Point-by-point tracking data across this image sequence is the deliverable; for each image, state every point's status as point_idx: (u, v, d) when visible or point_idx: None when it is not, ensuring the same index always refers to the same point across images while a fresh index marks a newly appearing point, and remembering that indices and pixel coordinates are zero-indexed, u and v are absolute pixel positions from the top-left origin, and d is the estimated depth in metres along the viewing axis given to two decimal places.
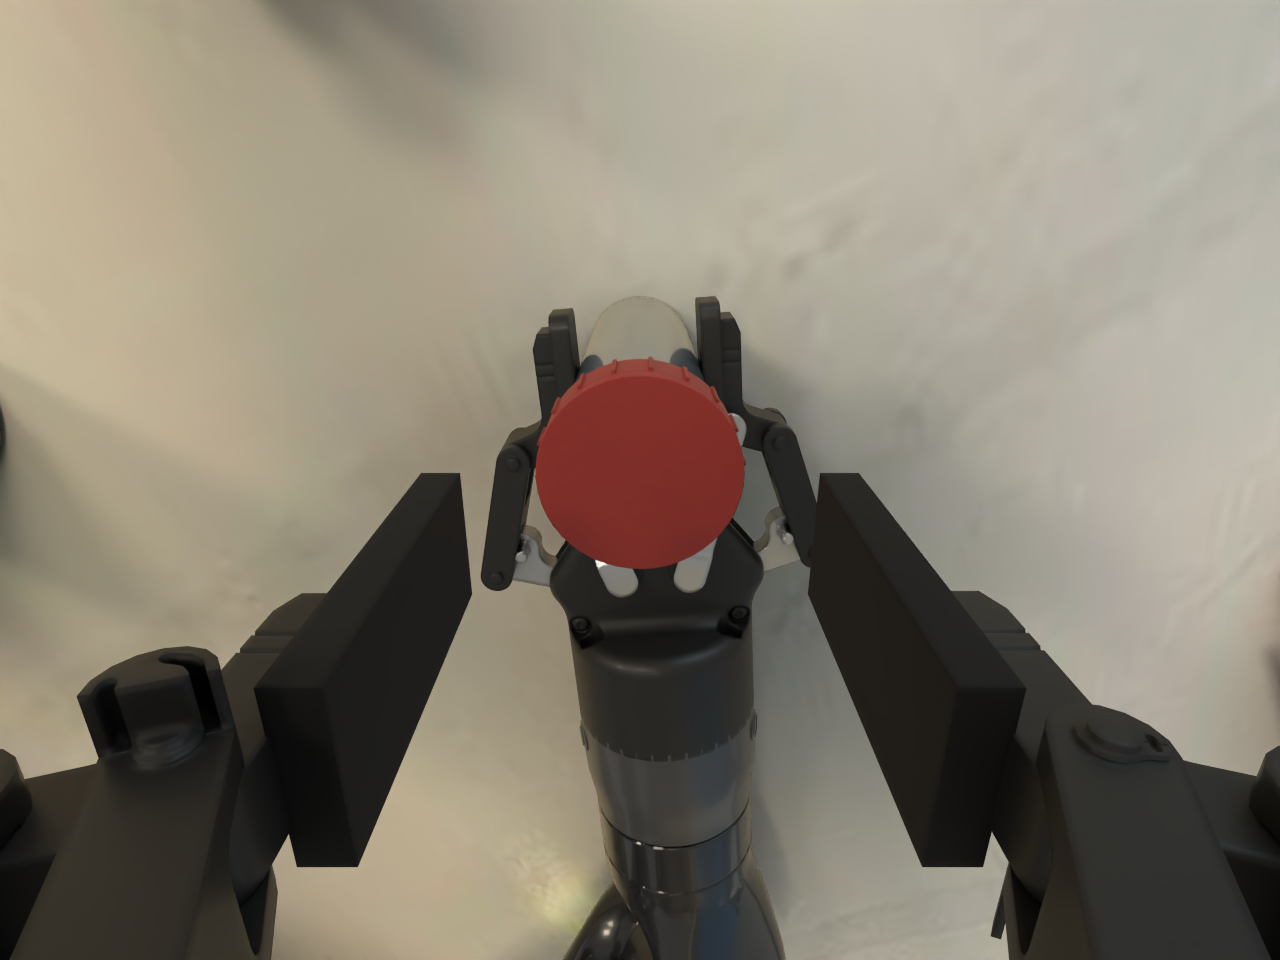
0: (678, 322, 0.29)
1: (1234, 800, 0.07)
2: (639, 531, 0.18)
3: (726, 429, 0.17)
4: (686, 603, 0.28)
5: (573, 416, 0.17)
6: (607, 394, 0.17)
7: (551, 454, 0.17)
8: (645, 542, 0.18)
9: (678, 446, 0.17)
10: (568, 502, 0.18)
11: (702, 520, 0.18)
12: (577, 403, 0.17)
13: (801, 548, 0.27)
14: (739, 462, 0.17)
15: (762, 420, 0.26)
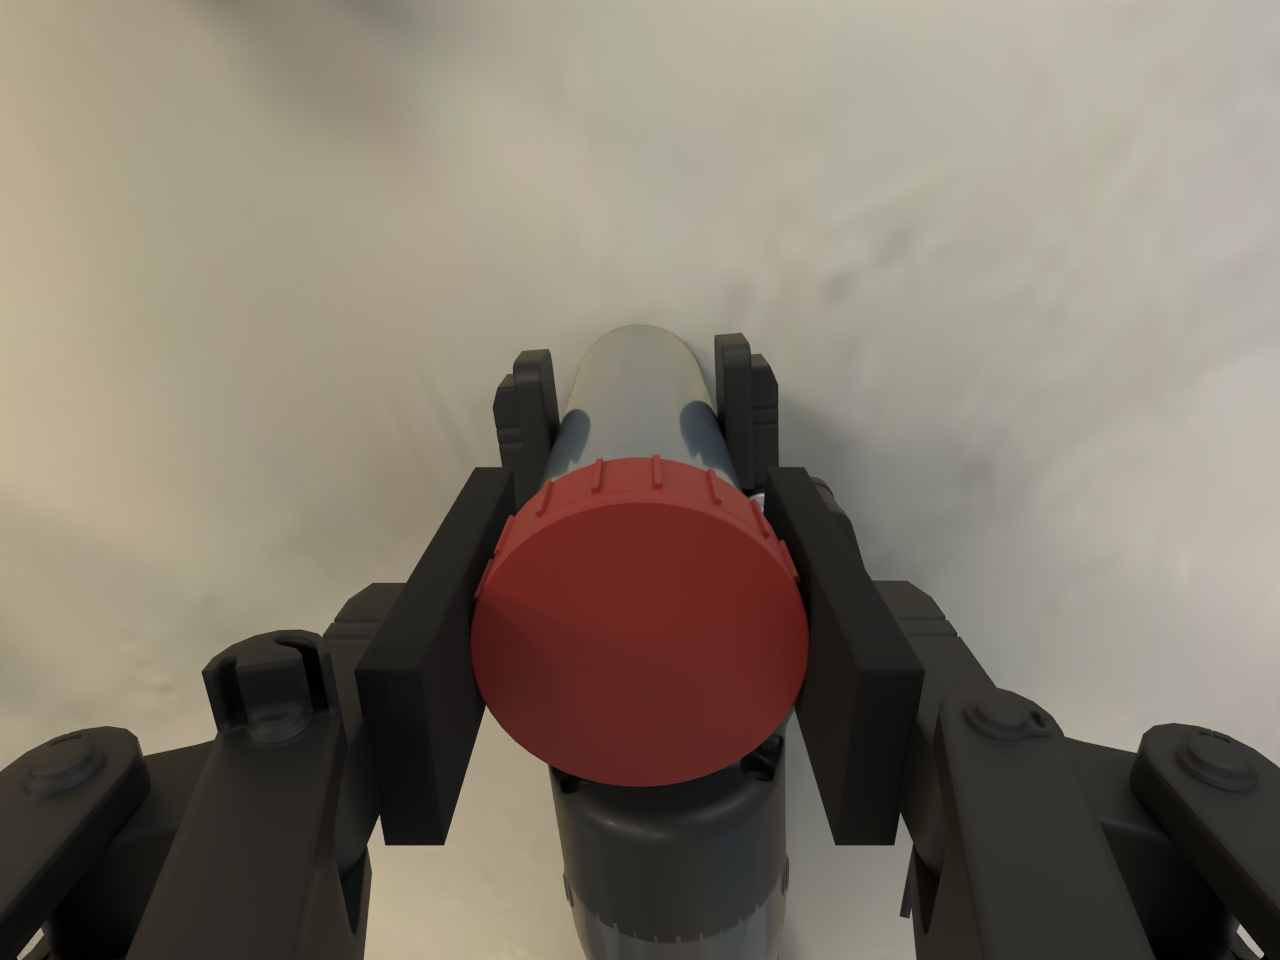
0: (690, 362, 0.22)
1: (1116, 776, 0.07)
2: (638, 734, 0.11)
3: (782, 585, 0.10)
4: None
5: (528, 565, 0.10)
6: (585, 531, 0.10)
7: (494, 622, 0.10)
8: (648, 749, 0.11)
9: (703, 610, 0.10)
10: (524, 692, 0.11)
11: (739, 719, 0.11)
12: (535, 545, 0.10)
13: None
14: (802, 634, 0.10)
15: None
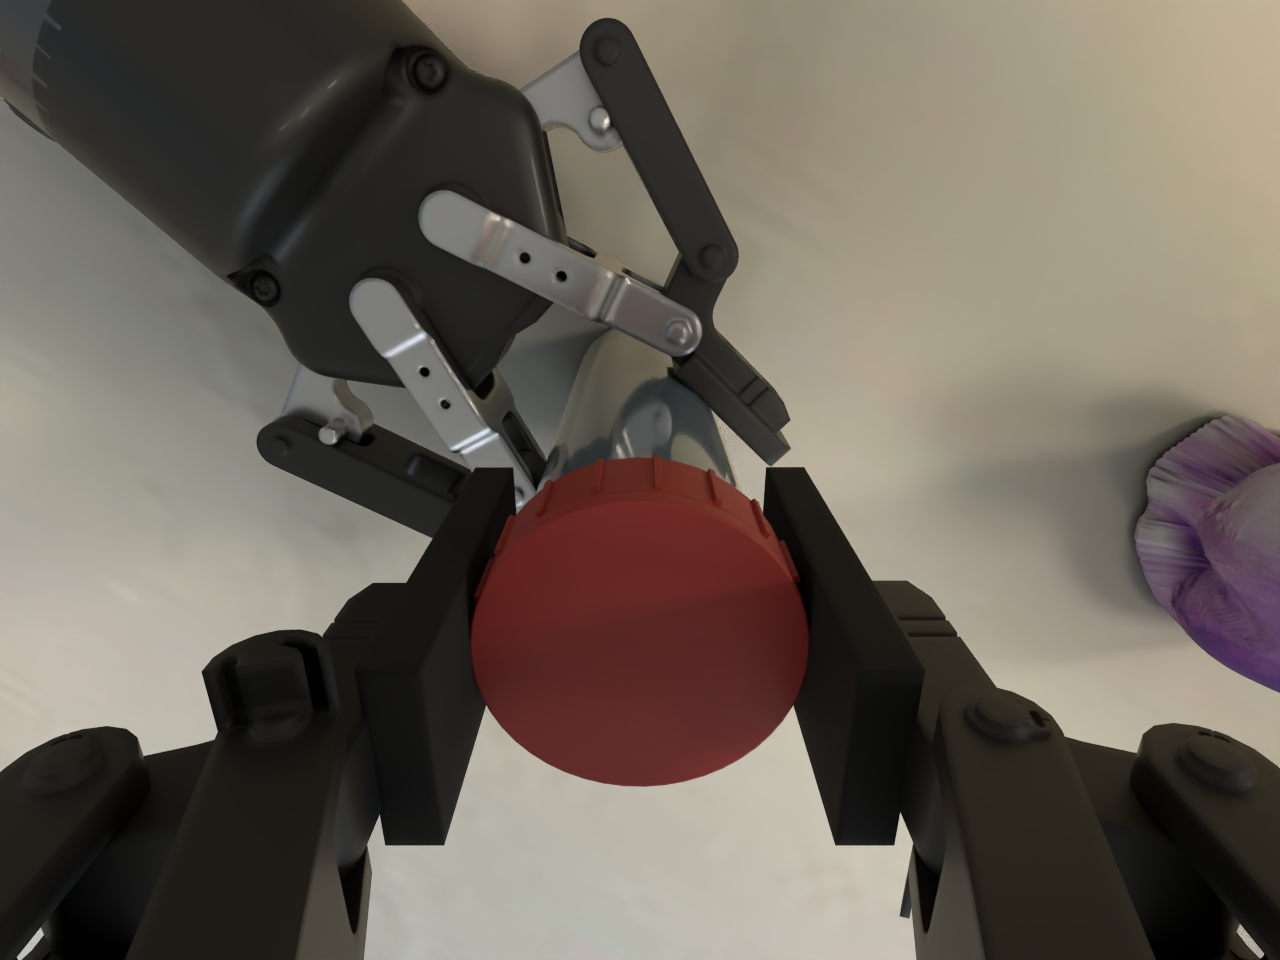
0: None
1: (1115, 776, 0.07)
2: (638, 734, 0.11)
3: (782, 585, 0.10)
4: (337, 246, 0.17)
5: (528, 565, 0.10)
6: (585, 531, 0.10)
7: (494, 622, 0.10)
8: (648, 749, 0.11)
9: (702, 610, 0.10)
10: (524, 693, 0.11)
11: (739, 719, 0.11)
12: (535, 545, 0.10)
13: (301, 438, 0.18)
14: (802, 634, 0.10)
15: None
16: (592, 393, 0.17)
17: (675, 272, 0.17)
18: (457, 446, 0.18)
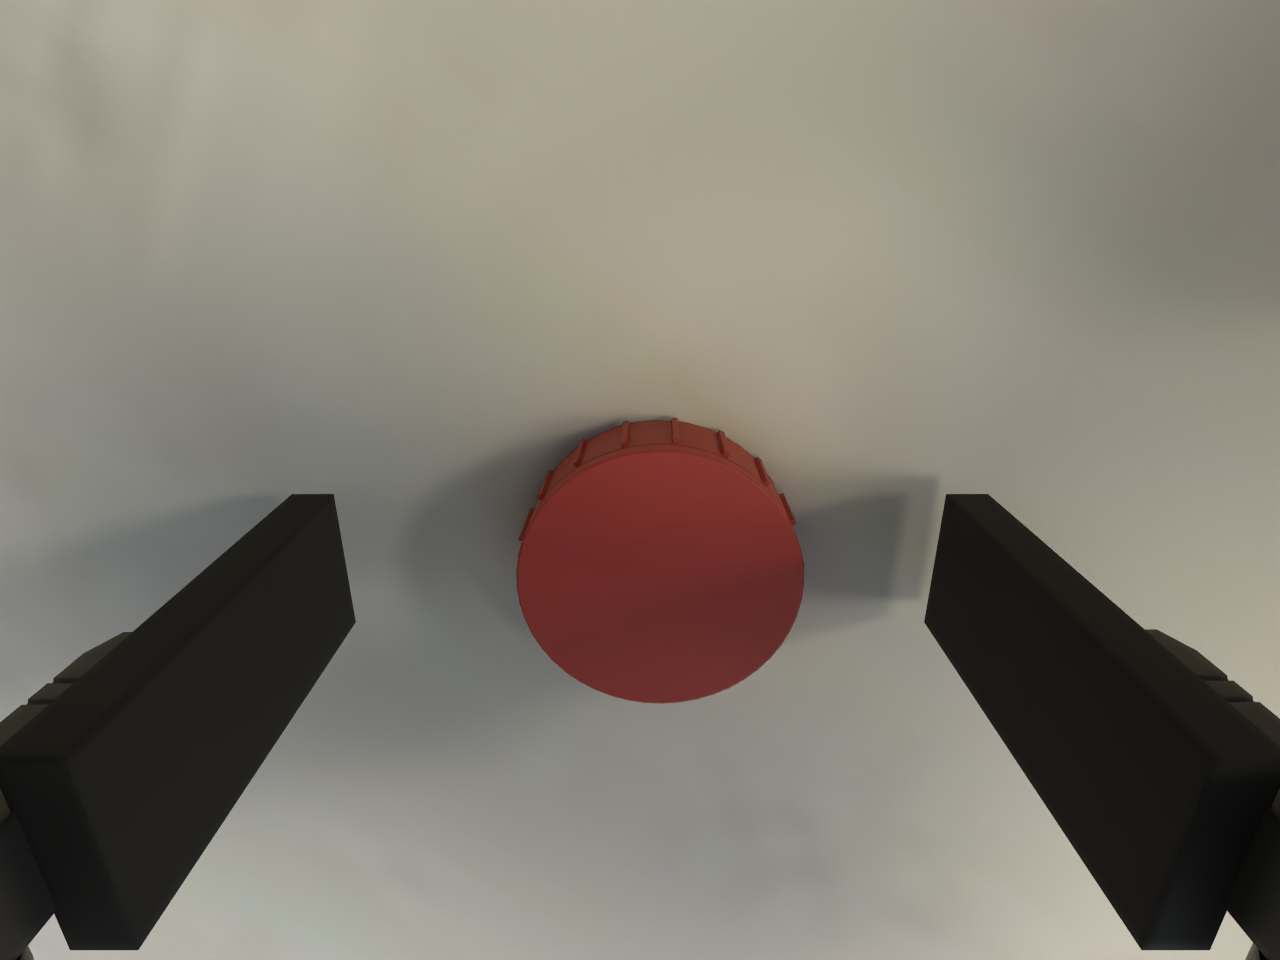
0: None
1: None
2: (658, 656, 0.13)
3: (780, 524, 0.12)
4: None
5: (567, 505, 0.12)
6: (615, 477, 0.12)
7: (537, 555, 0.12)
8: (666, 670, 0.13)
9: (713, 546, 0.12)
10: (561, 617, 0.13)
11: (744, 643, 0.13)
12: (573, 488, 0.12)
13: None
14: (797, 568, 0.12)
15: None
16: None
17: None
18: None
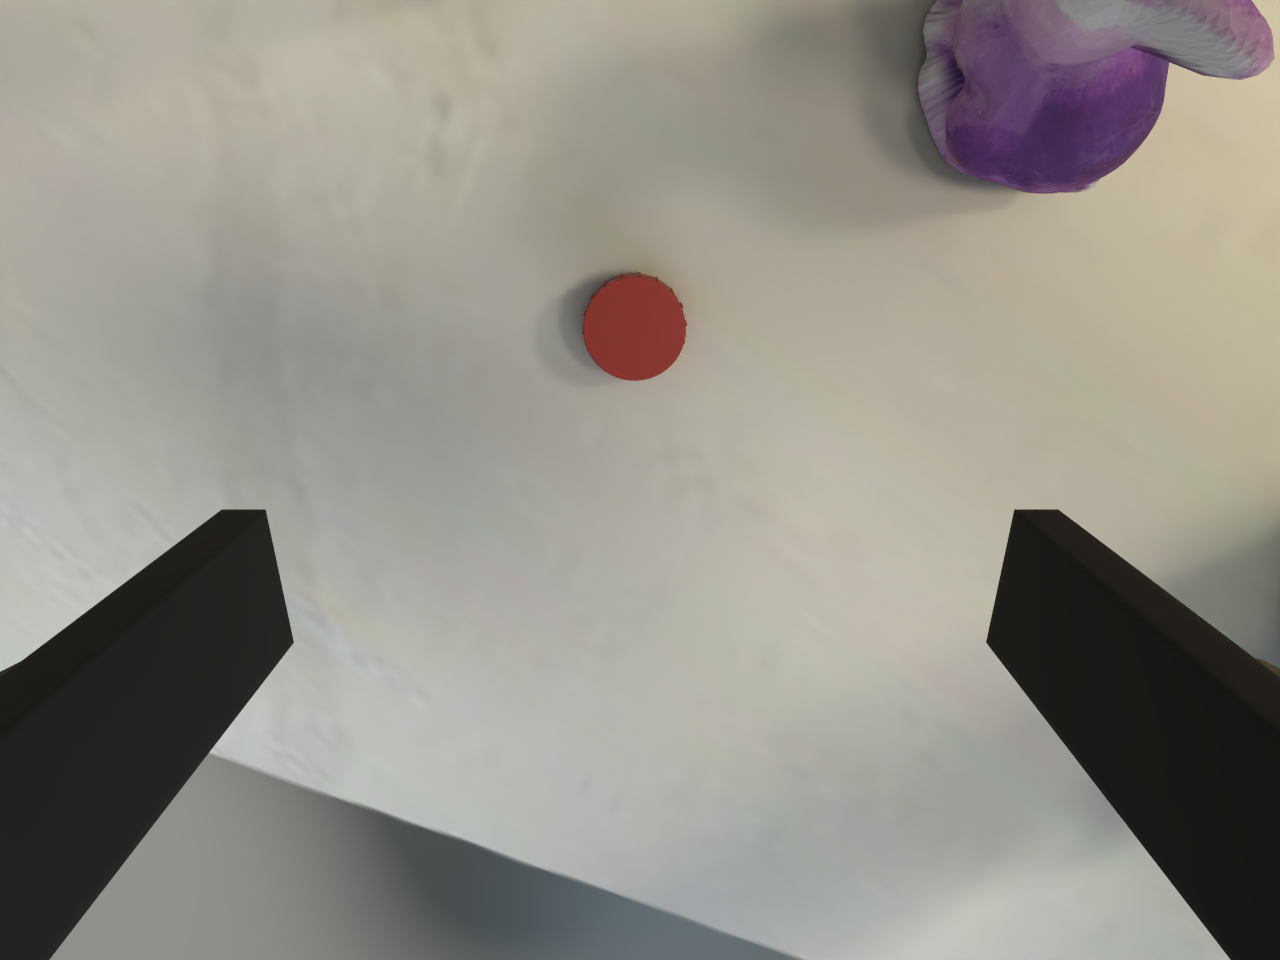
0: None
1: None
2: (634, 359, 0.36)
3: (676, 305, 0.35)
4: None
5: (602, 298, 0.35)
6: (618, 287, 0.35)
7: (591, 318, 0.35)
8: (637, 365, 0.36)
9: (653, 314, 0.35)
10: (599, 343, 0.36)
11: (665, 353, 0.36)
12: (604, 292, 0.35)
13: None
14: (683, 322, 0.35)
15: None
16: None
17: None
18: None
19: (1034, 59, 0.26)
